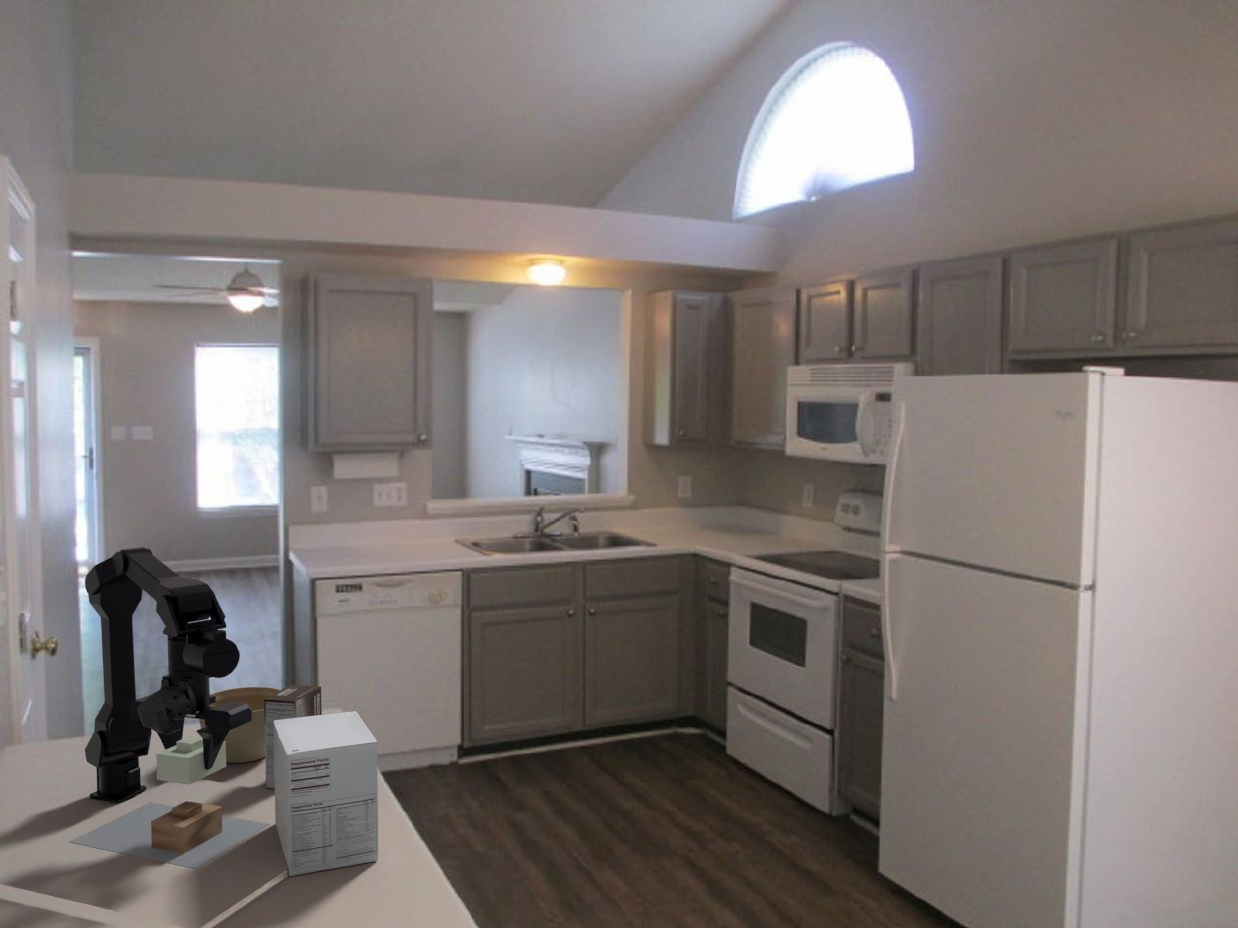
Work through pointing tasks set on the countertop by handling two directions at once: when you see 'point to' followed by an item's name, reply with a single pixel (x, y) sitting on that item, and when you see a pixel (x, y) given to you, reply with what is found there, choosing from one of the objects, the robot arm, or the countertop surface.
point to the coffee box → (287, 716)
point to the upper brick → (187, 761)
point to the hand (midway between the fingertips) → (191, 766)
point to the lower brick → (186, 827)
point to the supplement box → (326, 791)
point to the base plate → (135, 840)
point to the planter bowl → (250, 736)
